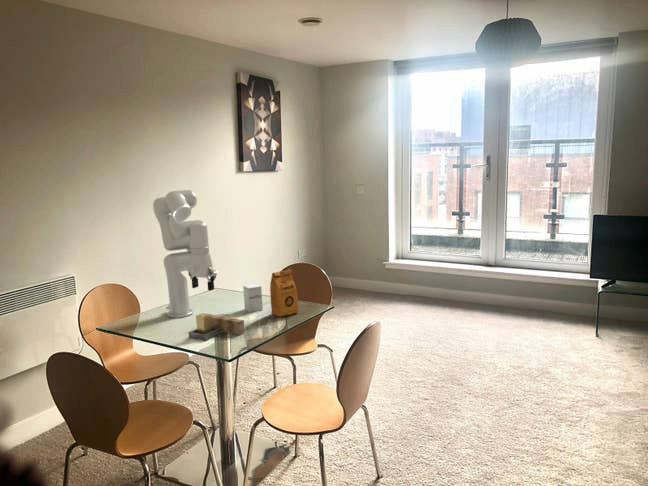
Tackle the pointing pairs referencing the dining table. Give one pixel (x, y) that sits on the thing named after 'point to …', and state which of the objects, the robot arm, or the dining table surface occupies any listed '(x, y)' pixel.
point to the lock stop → (203, 323)
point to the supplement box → (253, 297)
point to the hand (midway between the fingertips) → (203, 288)
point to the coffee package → (283, 294)
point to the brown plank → (228, 324)
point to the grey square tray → (204, 337)
